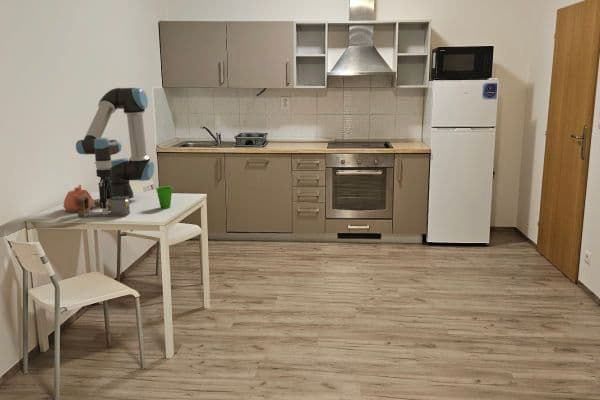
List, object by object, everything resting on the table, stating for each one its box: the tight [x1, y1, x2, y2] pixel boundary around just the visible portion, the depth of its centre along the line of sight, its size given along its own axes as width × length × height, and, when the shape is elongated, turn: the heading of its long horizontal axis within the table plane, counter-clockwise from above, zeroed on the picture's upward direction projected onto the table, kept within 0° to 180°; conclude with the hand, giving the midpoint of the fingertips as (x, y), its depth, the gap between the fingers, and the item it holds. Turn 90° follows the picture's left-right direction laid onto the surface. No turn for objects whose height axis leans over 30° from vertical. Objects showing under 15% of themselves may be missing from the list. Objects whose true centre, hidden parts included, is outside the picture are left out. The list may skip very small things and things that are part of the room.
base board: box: [81, 211, 129, 218], centre depth 284 cm, size 8×24×1 cm, turn 92°
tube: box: [94, 199, 130, 210], centre depth 283 cm, size 5×16×5 cm, turn 92°
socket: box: [77, 195, 91, 218], centre depth 283 cm, size 8×3×10 cm, turn 2°
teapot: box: [63, 184, 95, 213], centre depth 297 cm, size 22×15×12 cm
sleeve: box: [110, 196, 131, 216], centre depth 284 cm, size 7×8×9 cm
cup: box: [155, 186, 174, 210], centre depth 300 cm, size 9×9×11 cm
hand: (107, 212), depth 284 cm, fingers open, 6 cm apart
